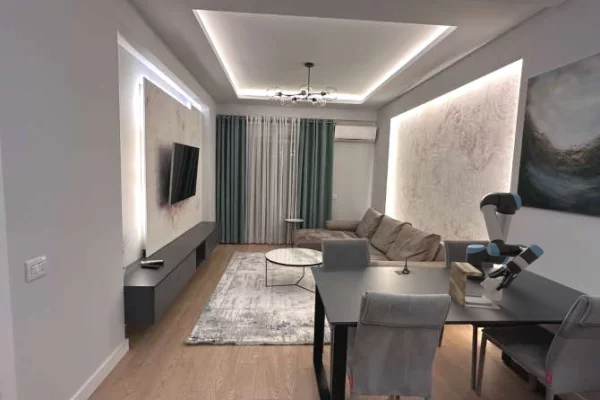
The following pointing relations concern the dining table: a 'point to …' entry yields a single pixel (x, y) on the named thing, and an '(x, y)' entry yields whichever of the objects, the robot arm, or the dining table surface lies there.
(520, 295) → the dining table surface
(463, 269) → the overhang shelf
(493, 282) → the mug
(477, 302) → the seat plate
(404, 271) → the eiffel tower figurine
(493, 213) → the robot arm
